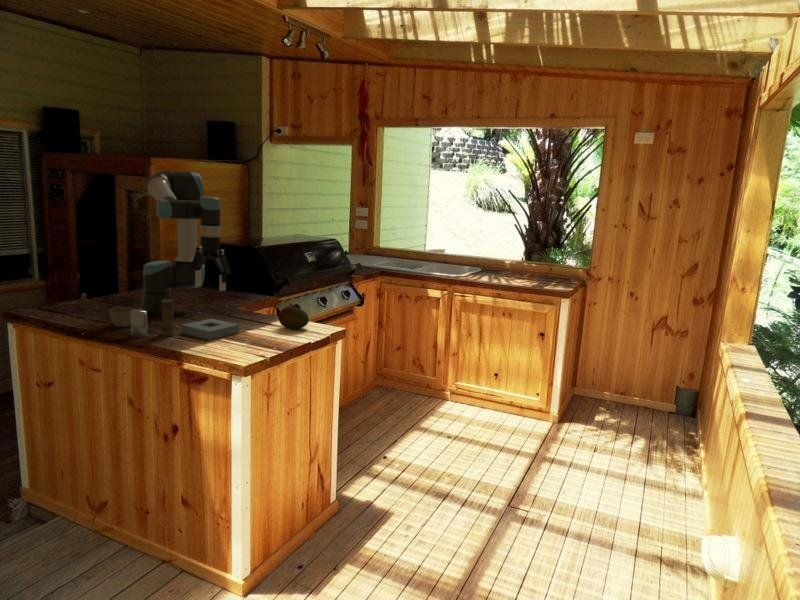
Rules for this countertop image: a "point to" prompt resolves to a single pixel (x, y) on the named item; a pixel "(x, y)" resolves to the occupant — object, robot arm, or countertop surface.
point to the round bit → (138, 323)
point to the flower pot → (121, 316)
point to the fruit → (293, 318)
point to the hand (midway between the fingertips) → (210, 288)
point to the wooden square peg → (167, 318)
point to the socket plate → (210, 329)
